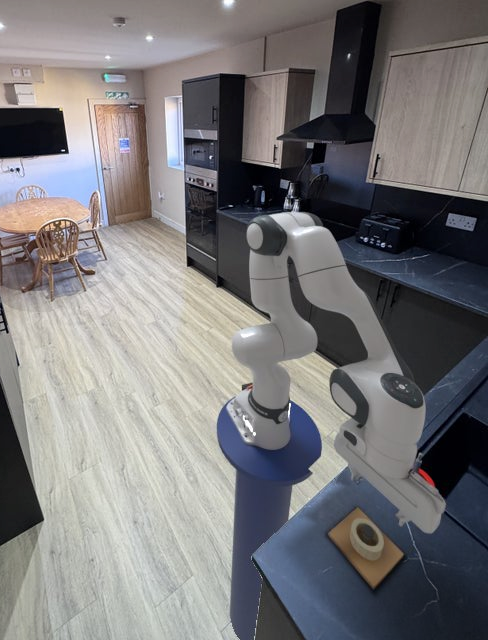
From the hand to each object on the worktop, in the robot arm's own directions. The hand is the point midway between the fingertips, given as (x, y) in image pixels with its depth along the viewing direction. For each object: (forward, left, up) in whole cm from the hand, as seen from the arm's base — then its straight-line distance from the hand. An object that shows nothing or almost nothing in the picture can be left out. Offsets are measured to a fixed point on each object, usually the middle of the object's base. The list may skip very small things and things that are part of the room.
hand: (376, 500), depth 68 cm
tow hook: (-2, +25, -16) cm, 30 cm away
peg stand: (0, 0, -15) cm, 15 cm away
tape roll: (0, 0, -14) cm, 14 cm away
